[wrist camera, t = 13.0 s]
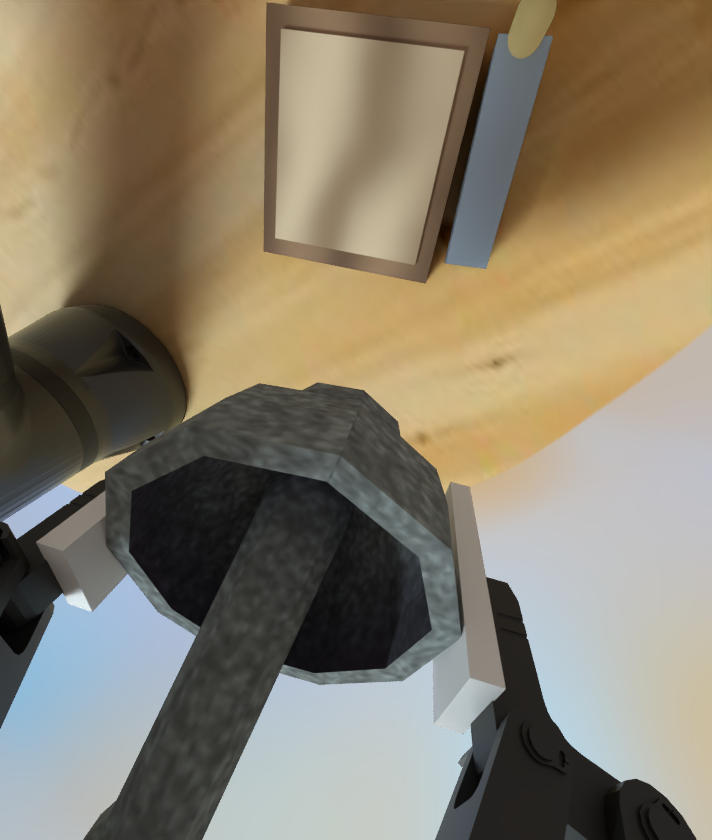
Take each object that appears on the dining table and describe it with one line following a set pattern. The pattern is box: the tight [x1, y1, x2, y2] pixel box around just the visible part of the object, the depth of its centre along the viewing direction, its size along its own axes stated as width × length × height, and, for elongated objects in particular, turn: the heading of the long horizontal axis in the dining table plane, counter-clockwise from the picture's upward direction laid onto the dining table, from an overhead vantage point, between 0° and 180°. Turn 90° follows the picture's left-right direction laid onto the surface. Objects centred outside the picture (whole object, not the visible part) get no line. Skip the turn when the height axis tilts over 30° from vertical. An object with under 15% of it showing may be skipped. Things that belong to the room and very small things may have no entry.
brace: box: [445, 0, 557, 269], centre depth 18 cm, size 11×2×4 cm, turn 173°
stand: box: [264, 3, 490, 283], centre depth 20 cm, size 12×12×2 cm
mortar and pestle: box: [84, 383, 461, 840], centre depth 9 cm, size 11×9×12 cm
